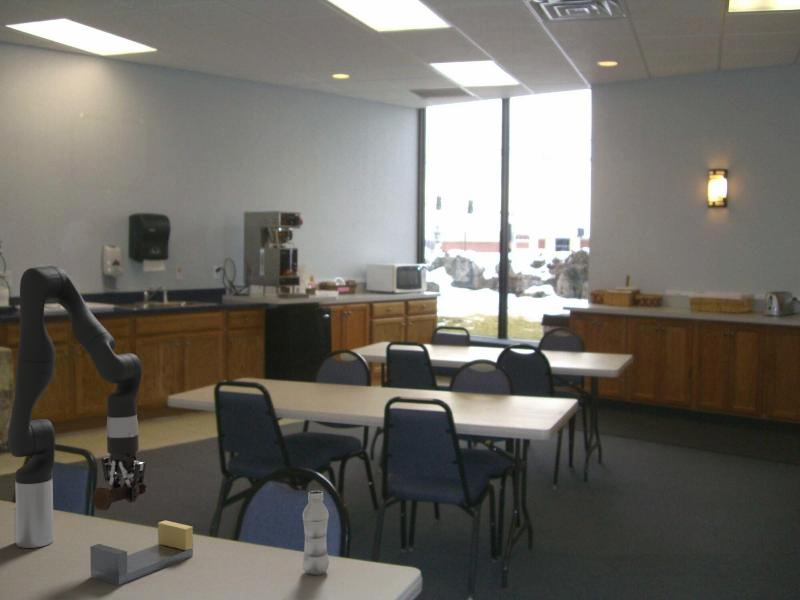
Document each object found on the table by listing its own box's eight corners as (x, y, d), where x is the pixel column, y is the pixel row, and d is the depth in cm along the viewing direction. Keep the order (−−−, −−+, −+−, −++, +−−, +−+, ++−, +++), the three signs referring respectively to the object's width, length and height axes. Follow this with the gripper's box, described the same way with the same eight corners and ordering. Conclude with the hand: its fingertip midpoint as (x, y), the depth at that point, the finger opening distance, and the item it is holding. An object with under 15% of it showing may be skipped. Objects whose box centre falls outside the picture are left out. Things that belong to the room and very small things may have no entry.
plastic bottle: (333, 569, 217) (333, 490, 216) (321, 579, 211) (322, 497, 210) (309, 566, 219) (309, 488, 218) (297, 576, 213) (297, 495, 212)
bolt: (144, 502, 226) (102, 515, 213) (131, 490, 228) (88, 503, 215) (153, 483, 225) (111, 495, 211) (140, 472, 227) (97, 483, 213)
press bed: (90, 577, 211) (90, 546, 211) (165, 548, 232) (165, 521, 231) (119, 585, 206) (118, 554, 205) (192, 556, 226) (192, 527, 226)
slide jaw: (158, 543, 229) (158, 522, 229) (165, 540, 231) (165, 520, 231) (185, 550, 224) (185, 529, 224) (192, 547, 226) (192, 526, 226)
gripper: (91, 433, 220) (92, 500, 221) (130, 438, 213) (132, 507, 213) (115, 428, 227) (116, 493, 227) (154, 433, 219) (155, 500, 220)
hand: (124, 500), depth 220 cm, fingers closed on bolt, 5 cm apart
